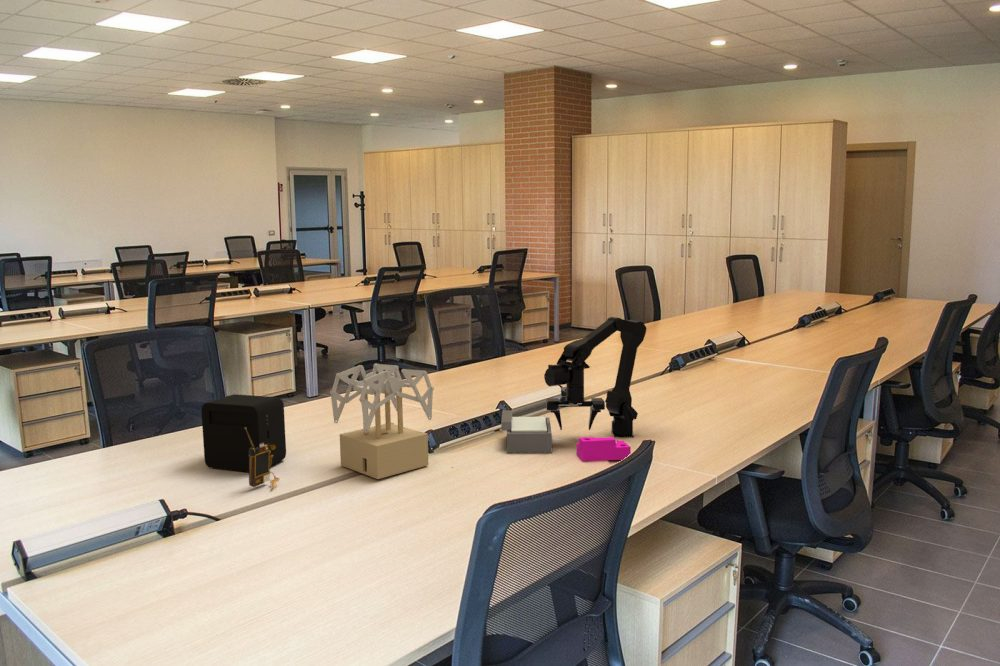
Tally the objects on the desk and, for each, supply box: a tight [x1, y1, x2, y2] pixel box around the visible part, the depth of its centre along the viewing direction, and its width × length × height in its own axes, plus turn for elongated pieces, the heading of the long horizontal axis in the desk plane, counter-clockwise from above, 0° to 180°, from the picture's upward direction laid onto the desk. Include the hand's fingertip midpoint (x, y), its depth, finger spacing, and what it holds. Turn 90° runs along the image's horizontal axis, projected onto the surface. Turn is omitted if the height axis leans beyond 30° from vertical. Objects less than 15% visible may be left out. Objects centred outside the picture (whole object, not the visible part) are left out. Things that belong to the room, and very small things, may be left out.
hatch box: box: [506, 416, 553, 454], centre depth 252 cm, size 14×21×6 cm, turn 178°
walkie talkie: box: [244, 427, 280, 489], centre depth 215 cm, size 13×13×18 cm
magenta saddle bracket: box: [575, 436, 632, 463], centre depth 237 cm, size 15×6×8 cm
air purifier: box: [200, 393, 287, 473], centre depth 234 cm, size 20×15×20 cm
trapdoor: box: [500, 409, 547, 432], centre depth 252 cm, size 14×18×3 cm
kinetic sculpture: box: [329, 363, 435, 480], centre depth 230 cm, size 25×20×30 cm
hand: (575, 429), depth 251 cm, fingers open, 9 cm apart
